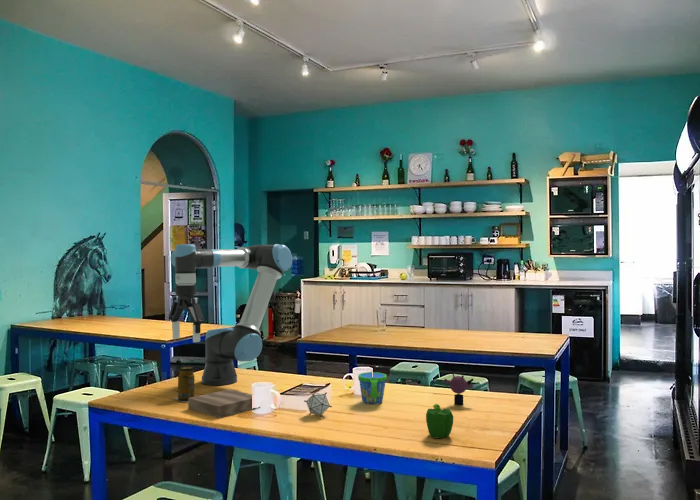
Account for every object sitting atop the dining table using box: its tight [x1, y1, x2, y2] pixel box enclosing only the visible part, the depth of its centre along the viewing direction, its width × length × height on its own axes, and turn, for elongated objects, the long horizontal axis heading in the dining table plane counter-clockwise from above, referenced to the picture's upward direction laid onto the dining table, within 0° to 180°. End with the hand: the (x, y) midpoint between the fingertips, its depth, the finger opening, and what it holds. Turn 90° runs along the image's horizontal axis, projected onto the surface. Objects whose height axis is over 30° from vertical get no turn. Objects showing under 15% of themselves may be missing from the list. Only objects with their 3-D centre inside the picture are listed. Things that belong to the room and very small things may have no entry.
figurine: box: [443, 371, 474, 406], centre depth 217 cm, size 8×8×12 cm
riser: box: [187, 388, 253, 419], centre depth 212 cm, size 18×18×4 cm
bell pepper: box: [425, 403, 454, 439], centre depth 179 cm, size 8×8×10 cm
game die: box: [303, 390, 333, 418], centre depth 202 cm, size 9×8×10 cm
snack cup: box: [357, 371, 387, 405], centre depth 220 cm, size 16×10×10 cm
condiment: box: [173, 366, 196, 403], centre depth 226 cm, size 7×8×12 cm
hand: (186, 340), depth 226 cm, fingers open, 13 cm apart
